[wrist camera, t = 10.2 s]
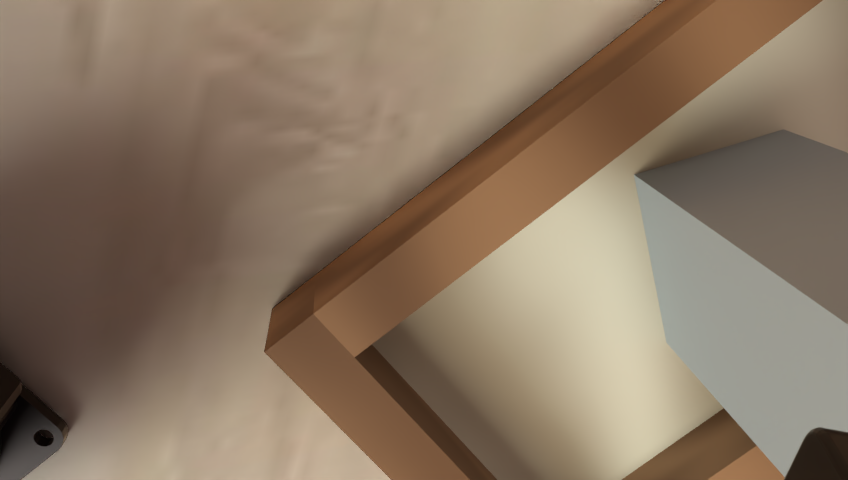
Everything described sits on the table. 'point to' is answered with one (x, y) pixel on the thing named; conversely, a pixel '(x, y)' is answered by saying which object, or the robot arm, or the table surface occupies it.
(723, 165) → the tall grey pillar block
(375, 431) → the wooden frame
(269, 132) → the table surface
